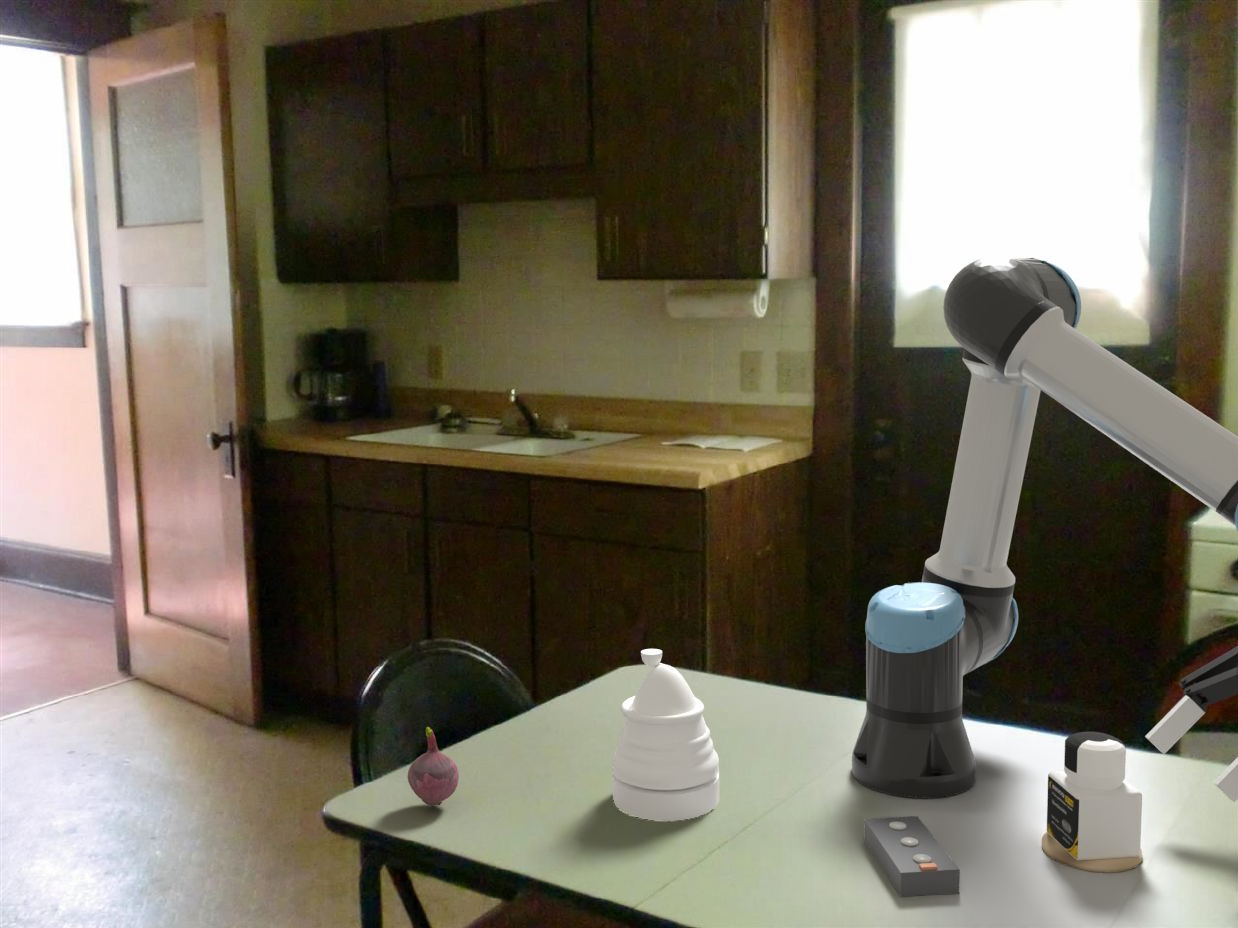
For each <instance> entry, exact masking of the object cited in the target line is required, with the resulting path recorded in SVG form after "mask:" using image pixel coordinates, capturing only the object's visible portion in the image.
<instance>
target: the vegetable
mask: <svg viewBox="0 0 1238 928" xmlns="http://www.w3.org/2000/svg"><path fill="white" fill-rule="evenodd" d="M424 735H425V736H426V741H427V750H426V752H425V753H423V754H421V755H420V756H418V757H417V758H416V759H415V760H414V761H413V762H412V764H410V766H409V768H408V770H407V771H408V772H407V781H408V783H409V786H410V788H411V790H412V791H413V792H414V794H415V795H416V796H417V797H418V798H420V800H421V802H423V803H425V805H428V806H429V807H432V806H434V807H435V806H436V807H437V806H441V805H442V804H443V802H444V801H445V800H447V799H449V798H450V797H451V796H452V795H453V794H454V793H455V791H456V790H457V787H458V783H459V777H460V776H459V769H458V766H457V764H456V762H454V760H453V759H451V757H449V756H447V755H446V754H444V753H442V752H441V750H439V748H438V744H437V740H436V736H435V734H434V731H433V729H432V728H430V727H429V726H426V727H425V734H424Z"/></svg>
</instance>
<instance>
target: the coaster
mask: <svg viewBox="0 0 1238 928" xmlns="http://www.w3.org/2000/svg"><path fill="white" fill-rule="evenodd" d="M1041 848H1042V850H1043V852H1044V853H1045V854H1046V855H1047V856H1048V857H1049V858H1051V859H1052V860H1055V861H1056V862H1058V863H1060V864H1063V865H1065V866H1068V867H1071V868H1075V869H1077V870H1078V869H1079V870H1084V871H1087V872H1094V873H1119V872H1125V871H1130V870H1132V869H1135V868H1137V867H1139V865H1140V864H1141V862H1142V860H1143V859H1142V858H1143V851H1142V848H1141V847H1140V856H1138V857H1130V858H1114V859H1099V860H1083V861H1077V860H1075V859H1074V858H1073V857H1072V856H1071V855H1070V854H1069V853H1068V852H1067V851H1066V850H1065V849H1064V848H1063V847H1062V846H1061V845H1060V844H1059V843H1058V842H1056V841H1055V840H1054V839H1053V838H1052V837H1051V836H1050V835H1049V834H1048V833H1047V831H1046V832H1045V833H1044V834H1043V835H1042V837H1041Z"/></svg>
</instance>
